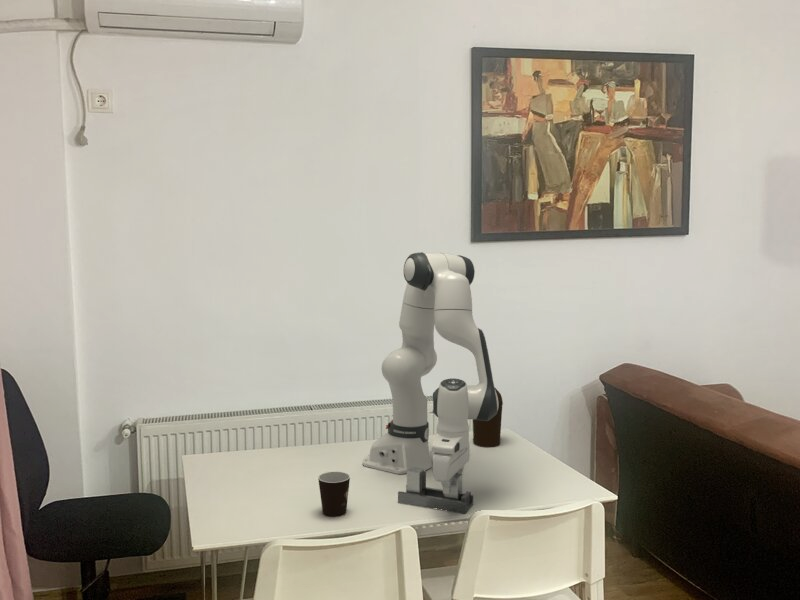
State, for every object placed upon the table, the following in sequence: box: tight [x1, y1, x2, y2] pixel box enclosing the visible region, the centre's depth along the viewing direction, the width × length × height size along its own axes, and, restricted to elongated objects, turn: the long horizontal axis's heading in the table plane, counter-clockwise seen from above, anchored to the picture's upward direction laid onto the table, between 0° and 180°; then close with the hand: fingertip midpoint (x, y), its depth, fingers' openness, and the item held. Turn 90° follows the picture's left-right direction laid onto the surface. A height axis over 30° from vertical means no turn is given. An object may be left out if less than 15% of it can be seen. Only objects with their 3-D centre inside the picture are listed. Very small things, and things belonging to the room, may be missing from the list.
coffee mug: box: [317, 471, 351, 518], centre depth 210 cm, size 12×9×10 cm
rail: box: [397, 467, 474, 515], centre depth 215 cm, size 20×7×9 cm, turn 67°
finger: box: [443, 473, 463, 501], centre depth 213 cm, size 4×4×8 cm
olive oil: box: [472, 386, 504, 448], centre depth 269 cm, size 11×11×25 cm
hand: (452, 487), depth 213 cm, fingers open, 8 cm apart
